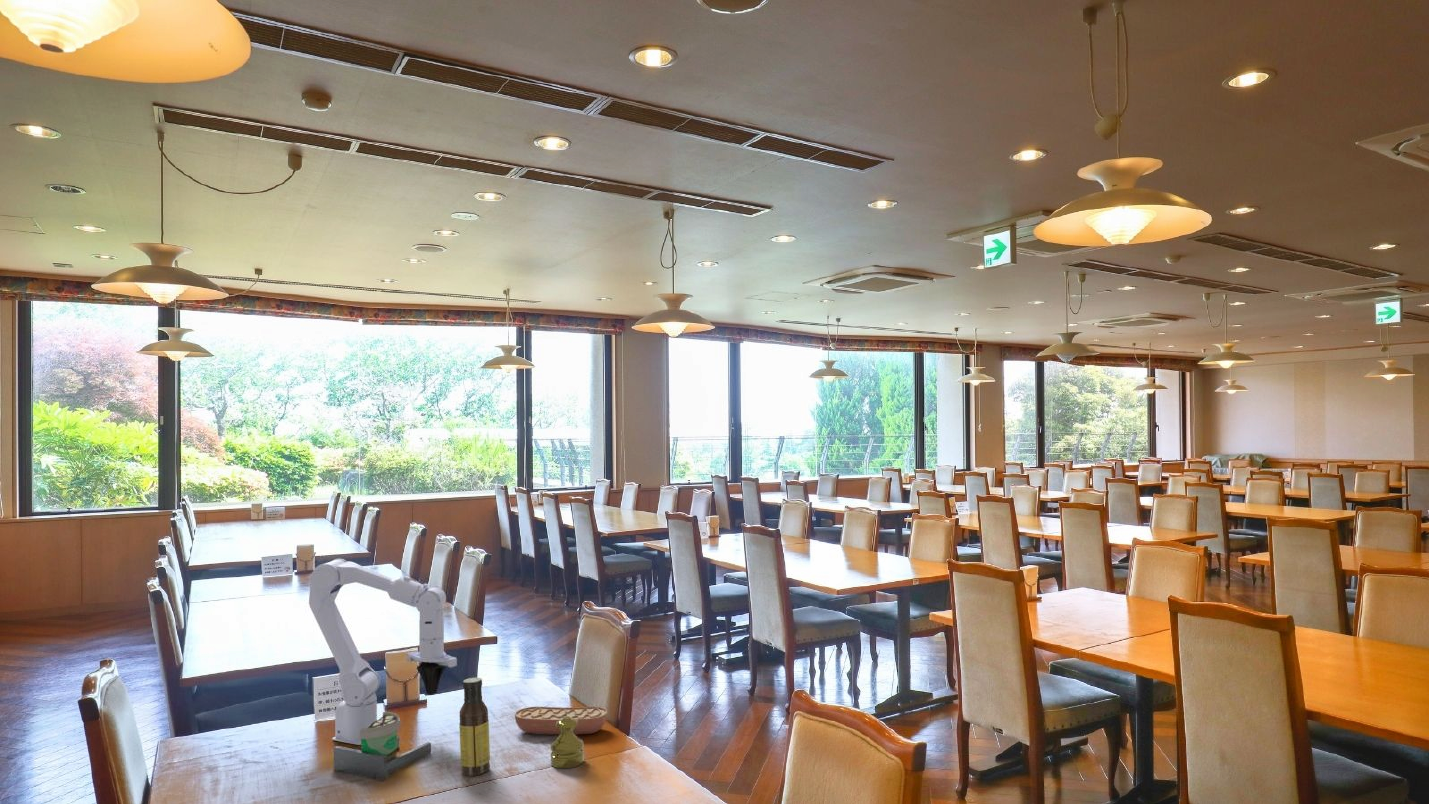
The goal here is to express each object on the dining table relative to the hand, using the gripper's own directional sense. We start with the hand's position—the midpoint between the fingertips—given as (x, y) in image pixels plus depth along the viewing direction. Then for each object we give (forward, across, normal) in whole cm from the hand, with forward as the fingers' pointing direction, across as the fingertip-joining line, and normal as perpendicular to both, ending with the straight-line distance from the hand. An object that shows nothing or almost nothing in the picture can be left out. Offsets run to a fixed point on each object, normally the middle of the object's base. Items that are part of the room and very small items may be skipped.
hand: (431, 693), depth 209 cm
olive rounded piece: (+11, -41, 0) cm, 42 cm away
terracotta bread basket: (+11, -28, -15) cm, 33 cm away
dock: (+10, -3, +16) cm, 20 cm away
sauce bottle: (+11, -25, +12) cm, 30 cm away
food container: (+11, -4, +18) cm, 21 cm away
